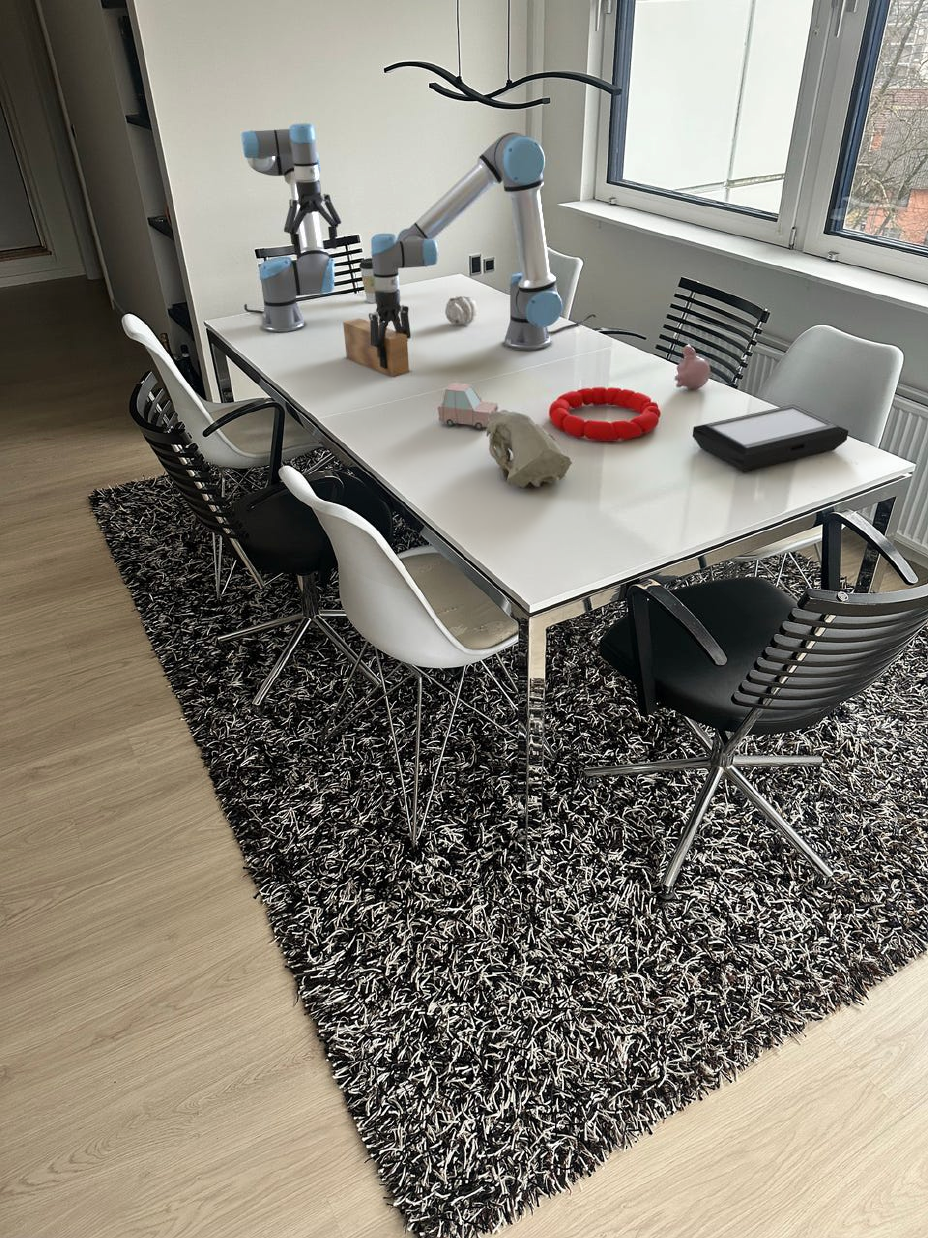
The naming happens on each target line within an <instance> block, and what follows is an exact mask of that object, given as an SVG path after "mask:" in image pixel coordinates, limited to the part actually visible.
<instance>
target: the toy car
mask: <svg viewBox="0 0 928 1238" xmlns="http://www.w3.org/2000/svg"><path fill="white" fill-rule="evenodd" d="M498 409H499V404H498V403H497V402H490V401H489V402H487V401H483V397H481V396H480V395H479V394H478V393H477V391H476V390H475V389H474V386H472V384H469V383H459V382H451V383H450V384H449V385H448V386H447V387H446V388H445V389H444V394H443V399H442V403H440V404H439V405H438V406H437V413H438V421H439V422H443V423H446V425H447V426H448V427H452V426H454V425H455V424H461V425H469V426H473V427H475V429H476V430H479V431H480V430H481V429H483V428H485V427H486V428H487V423H488V422H490V414H491V413H492V412H496V411H499V410H498Z"/></svg>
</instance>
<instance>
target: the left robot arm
mask: <svg viewBox="0 0 928 1238" xmlns="http://www.w3.org/2000/svg"><path fill="white" fill-rule="evenodd" d="M240 136H241V142H242V150H243V156H244V158H246V160H247V163H248V165H249V167H250V168H251V169H253V170H254V171H255V172H257V173H259V174H262V175H265V176H270V177H283V178H284V181H285V183H287V184H288V185H289V187H290V193H291V195H290V196H291V199H289V202H288V203H289V208H288V213H287V216H286V219H285V224H284V226H283V227H284V228H283V232H284V233H286V234H289V236H290V237H289V238H290V243H291V245H293V250H294V256H296V260H292V258H291V257H290V256H277V257H272V258H270V259H267V260H264V261H263V262H261V263H260V265H259V266H258V270H259V280H260V285H261V286H260V287H261V292H262V299H263V310H257V309H248V304H247V303H245V304H244V305H243V307H244V308H243V309H244V310H245V312H246V313H252V314H261V315H262V319H261V326H262V330H264V331H265V332H271V333H286V332H293V331H296V330H297V331H298V330H300V329H302V328H304V326H305V319H304V317H303V314H302V312H301V310H300V307H299V306H298V305H299V304H298V303H297V297H298V296H301V297H302V296H310V295H323V294H330V293H332V292H333V291H334V290H335V259H334V258H333V257H330V253H329V252H328V251H327V250H326V249H325V248H324V241H323V234H322V228H321V221H320V215H321V217H322V218H323V219H324V220H325V221H326V222H327V224H329V226H327V227H328V228H327V230H328V239H329V240H328V241H329V248H330V249H334V250H337V247H338V246H337V237H338V227H339V225H341V224H342V220H341V218H340V216H339V214H338V212H337V210H336V207H334V205H333V203H332V199H331V195H330V194H328V193H323V194H321V193H322V187H321V181H320V180H319V179H320V173H321V163H320V158H319V154H318V153H319V152H318V150H317V142H316V138H317V137H316V133H315V127H314V125H313V124H312V123H306V122H305V123H304V122H303V123H293V124H291V125H290V126H289V128H281V129H280V128H279V129H267V130H265V129H264V130H248V131H243V132H242V133H241V134H240ZM322 203H324V205H325V207H326V209H327V211H328V212H327V211H326V209H325V208H324V207H323V206H322Z"/></svg>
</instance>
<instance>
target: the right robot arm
mask: <svg viewBox="0 0 928 1238" xmlns="http://www.w3.org/2000/svg"><path fill="white" fill-rule="evenodd" d="M545 165H546V157H545V153H544V149H543V147H542V146H541V145H540V144H539V143H538V142H537V141H536V140H535V139H534V138H532V137H531V136H528V135H523V134H521V133H519V132H512V131H511V132H507V133H505V134H503V135H501V136H500V137H498V138H496V140H495V141H494V142H493V143H492V144H491V145H489V147H488V148H487V149H485V150H484V151H483V152H482V153H481V154H480V155H479V156H478V158H477V163H476V164H474V166H473V167H471V169H470V170H469V171H468V172H466V174H464V176H462V177H461V178H460V179H459V180H458V181H457V182H456V183H455V184H454V185H453V186H452V187H451V188H450V189H449V190H448V191H447V192H446V193H445V194H443V195H442V197H440V198H439V199H438V200H437V201H436V202H435V203H434V204H433V205H432V206H431V207H430V208H429V209H427V210H426V212H425V213H423V214H422V215H421V216H420V217H419V218H418V219H417V220H416V221H415V222H414V223H413V224H412V225H411V226H410V227H409V228H404V229H402V230H401V231H400V232H399V233H398V235H397V236H396V234H393V233H377V234H374V235H373V236H371V240H370V242H371V243H370V245H371V250H370V251H371V252H370V253H371V258H372V263H373V273H374V288H375V289H376V291H375V299H376V303H375V304H376V309H375V312H374V311H373V313H371V312H370V313H368V319H369V322H370V327H371V346H374V347H377V356H378V357H379V358H380V367H382V368H385V369H386V368H387V359H386V348H385V347H383V345H384V340H385V334H386V329H387V328H388V326H389V323H390V322H392V324H393V327H394V331H396V332H399V333H402V334H405V335H407V342H408V341H409V339H411V337H412V334H411V327H410V321H409V320H410V319H409V309H410V308H409V306H408V305H404V304H401V303H400V302H401V292H400V291H401V290H400V289H399V288H400V276H399V269H407V268H408V269H409V268H419V267H420V268H421V267H426V268H427V267H432V266H436V264H437V263H438V259H439V253H438V252H439V251H438V244H437V241H436V240H435V239H437V238H438V237H439V236H440V235H441V234H442V233H443V232H444V231H445V230H446V229H447V228H449V226H451V225H452V224H453V223H454V222H455V221H456V220H457V219H459V217H460V216H461V215H463V214H464V212H466V211H467V210H469V208H470V207H471V206H472V205H474V203H476V201H477V200H479V199H480V198H481V197H482V196H483V195H485V193H486V192H488V191H489V190H490V189H491V188H492V187H493V186H499V185H500V184H501V183H503V190H504V193H506V194H507V195H508V196H509V197H510V202H511V210H512V216H513V224H514V230H515V237H516V244H517V251H518V258H519V259H518V260H519V265H520V272H517V273H513V274H512V275H511V276H510V280H509V296H510V297H509V315H510V316H509V323H508V327H507V330H506V334H505V335H504V337H505V338H504V345H505V347H506V348H509V349H511V350H515V351H538V350H543V349H546V348H547V347H549V346H550V344H551V337H550V334H551V335H552V334H555V333H558V332H561V331H562V330H566V329H568V328H572V327H577V326H579V325H581V324H583V323H584V322H585V321H587V320H588V319H590V318H591V317H593V318H597V315H596V314H595V313H591V314H589V315H587V316H586V317H584V318H582V319H581V320H580V321H579V322H576V323H572V324H568V325H564V326H562V327H559V328H557V329H554V330H548V327H550V326H552V325H553V324H555V323H556V322H557V321H558V320H559V318H560V316H561V315H562V312H563V301H562V298H561V296H560V295H559V294H558V289H557V282H556V276H555V275H554V274H552V273H551V272H550V265H549V257H548V249H547V241H546V234H545V227H544V226H545V225H544V217H543V211H542V209H543V208H542V203H541V201H542V200H541V193H540V190H541V188H542V187H543V185H544V176H543V175H544V174H543V172H544V170H545ZM378 325H379V329H378Z"/></svg>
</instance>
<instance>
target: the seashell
mask: <svg viewBox="0 0 928 1238" xmlns="http://www.w3.org/2000/svg"><path fill="white" fill-rule="evenodd" d="M444 313H445V316H446V319H447V320H448V321H449V323H450V324H452V325H455V326H458V325H460V324H461V325H468V324H471V323H472V321H473V320H474V319H475V318H476V316H477V314H478V306H477V303H476V301H475V300H474V299H472V298H471V297H470V296H462V295H460V296H458V295H457V296H455V297H451V298H449V299H448V302H447V303H446V305H445V309H444Z"/></svg>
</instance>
